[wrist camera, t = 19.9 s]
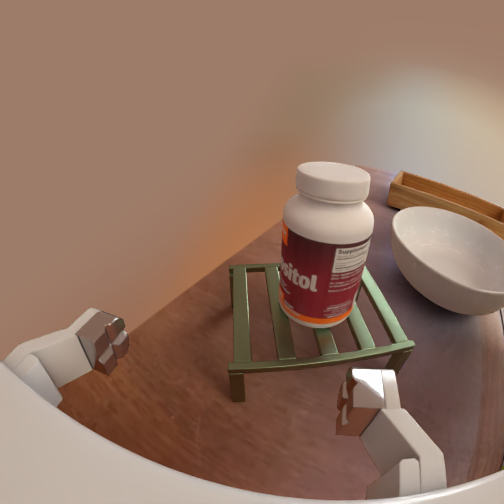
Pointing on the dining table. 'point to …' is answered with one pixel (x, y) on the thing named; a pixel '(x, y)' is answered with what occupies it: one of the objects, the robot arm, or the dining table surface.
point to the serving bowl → (450, 259)
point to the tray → (444, 200)
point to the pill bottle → (324, 243)
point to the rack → (322, 335)
